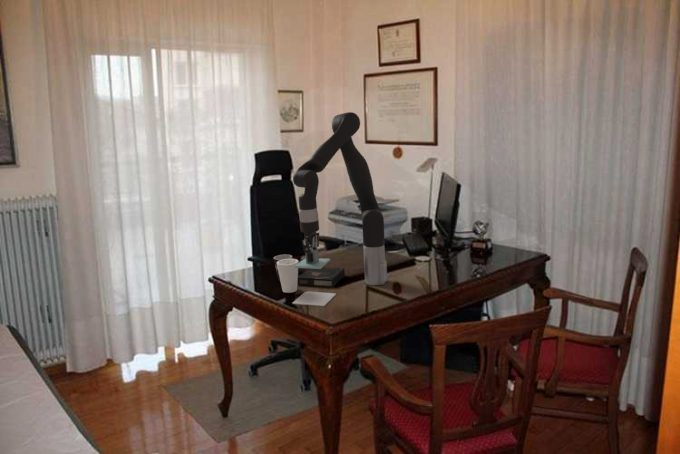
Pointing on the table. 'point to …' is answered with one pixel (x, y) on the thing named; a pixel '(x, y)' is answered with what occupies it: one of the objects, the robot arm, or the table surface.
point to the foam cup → (288, 274)
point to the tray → (314, 298)
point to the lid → (316, 263)
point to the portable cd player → (321, 277)
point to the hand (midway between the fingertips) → (312, 260)
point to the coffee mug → (280, 257)
